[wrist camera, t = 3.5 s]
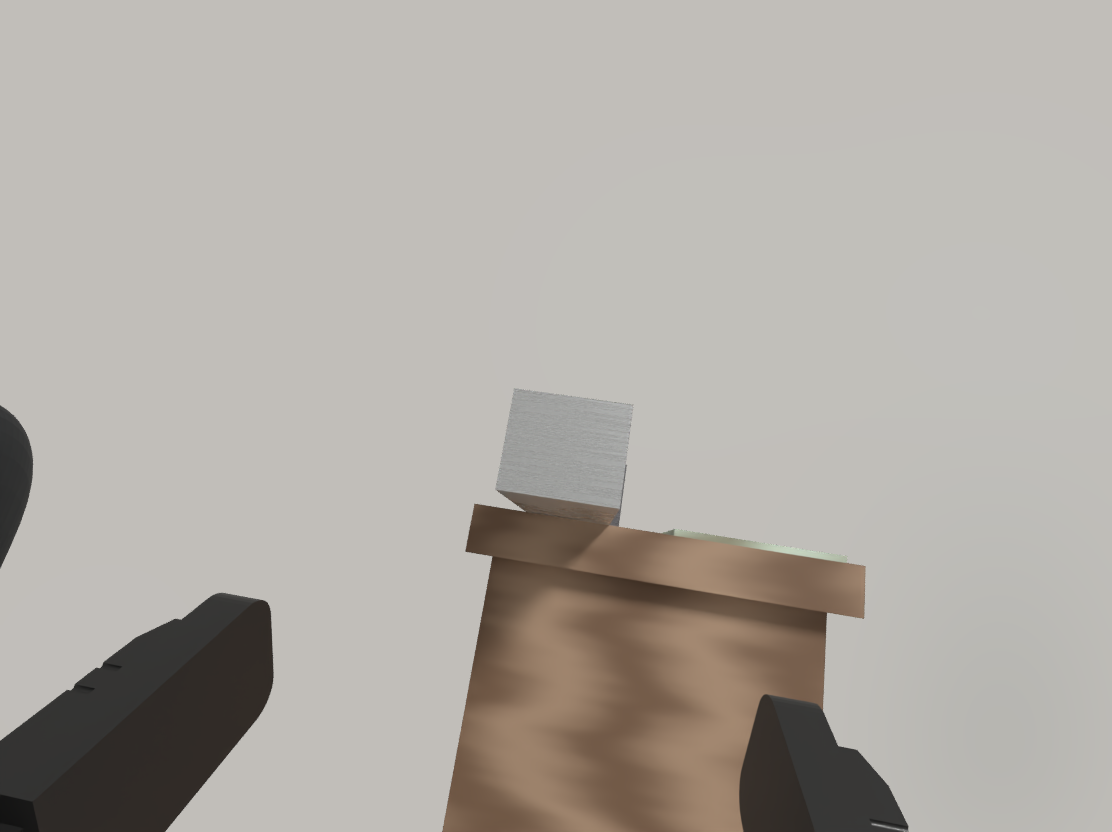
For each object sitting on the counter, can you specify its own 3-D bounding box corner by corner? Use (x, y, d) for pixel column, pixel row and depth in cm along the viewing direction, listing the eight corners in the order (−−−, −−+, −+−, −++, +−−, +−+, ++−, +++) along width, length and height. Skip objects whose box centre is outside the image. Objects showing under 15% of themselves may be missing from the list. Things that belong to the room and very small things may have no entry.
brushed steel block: (469, 485, 16) (495, 353, 16) (535, 525, 35) (545, 463, 36) (647, 513, 15) (663, 375, 16) (614, 537, 34) (622, 474, 35)
